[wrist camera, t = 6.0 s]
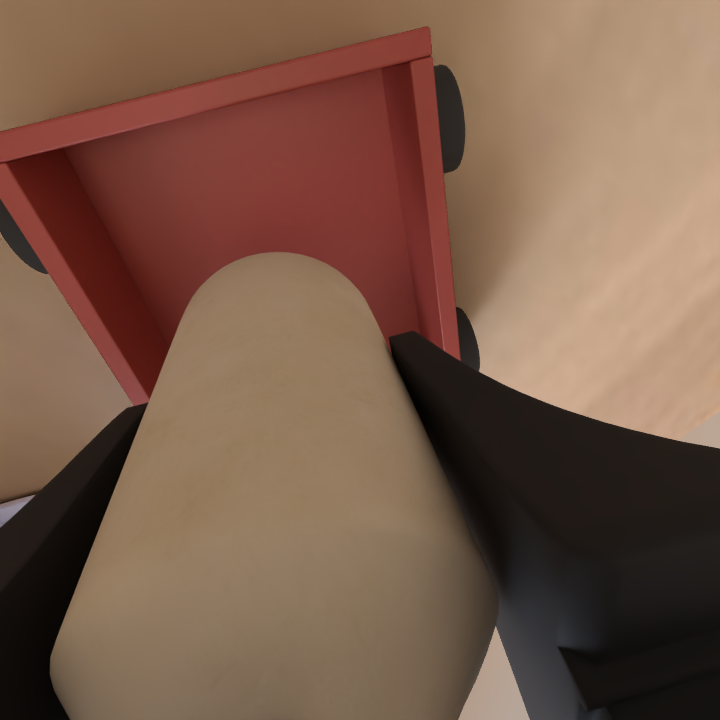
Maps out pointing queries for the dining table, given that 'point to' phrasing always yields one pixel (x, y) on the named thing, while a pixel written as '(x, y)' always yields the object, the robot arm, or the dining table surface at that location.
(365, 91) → the cart
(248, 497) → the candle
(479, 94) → the dining table surface
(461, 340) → the cart wheels
